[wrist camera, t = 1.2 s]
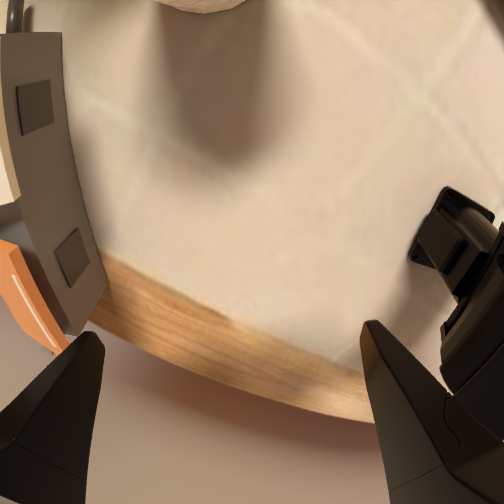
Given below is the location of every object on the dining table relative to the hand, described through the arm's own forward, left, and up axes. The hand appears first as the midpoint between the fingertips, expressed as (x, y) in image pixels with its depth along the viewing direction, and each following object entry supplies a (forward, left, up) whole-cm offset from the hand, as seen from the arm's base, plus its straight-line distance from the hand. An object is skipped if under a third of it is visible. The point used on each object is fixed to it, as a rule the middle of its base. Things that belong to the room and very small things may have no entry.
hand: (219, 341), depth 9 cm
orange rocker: (+14, +7, -4) cm, 16 cm away
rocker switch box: (+18, 0, -12) cm, 21 cm away
